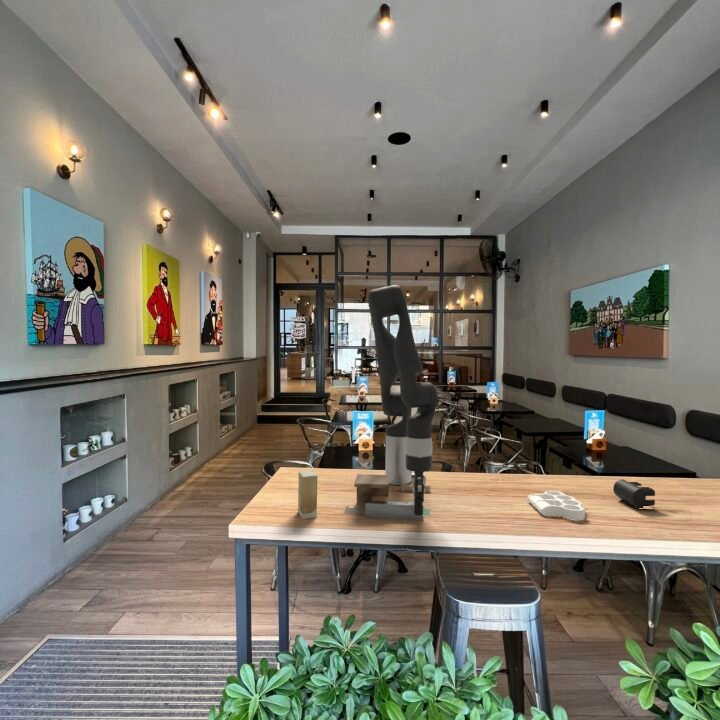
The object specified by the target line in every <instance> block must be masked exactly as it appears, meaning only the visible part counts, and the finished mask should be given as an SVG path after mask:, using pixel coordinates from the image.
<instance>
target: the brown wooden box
mask: <svg viewBox="0 0 720 720" xmlns="http://www.w3.org/2000/svg"><path fill="white" fill-rule="evenodd" d="M353 485H354V486H353V487H354V488H356V505H365V503H366V498H367V495H372V496H381V497H389V498H390V484H389V475H385V474H370V473H369V474H368V473H367V474H365V473H362V474H361V473H360V474H359V473H357V474H356V477H355V481H354V483H353Z"/></svg>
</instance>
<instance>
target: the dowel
mask: <svg viewBox="0 0 720 720" xmlns="http://www.w3.org/2000/svg"><path fill="white" fill-rule="evenodd" d="M431 487H432V486H431V484H430V485H426V484H425V493H432V492H431V491H432V490H431V489H432V488H431ZM400 492H406V493H407V492H408V493H411V492H412V493H413V489H412V484H405V485H400Z"/></svg>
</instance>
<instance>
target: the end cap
mask: <svg viewBox="0 0 720 720" xmlns="http://www.w3.org/2000/svg"><path fill="white" fill-rule="evenodd" d="M613 493H614V494H615V496H616V497H617V498H618V499H619V500H621V499H622V500H621V501H623V500H624V501H623V502H625V503H626V504H628V503H629V504H628V505H630V504H631V505H630V506H632V505H633V506H632V507H634V506H635V508H636V507H637V508H636V509H638V508H643V506H651V507H653V506H655V505H656V501H655V499H646V498H647V497H656V491H655V490H654V489H653V488H651V487H650V486H643V485H642V483H640V482H638V481H628V480H625V479H623V478H620V479H619V480H616V482H614V485H613Z"/></svg>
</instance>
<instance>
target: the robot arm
mask: <svg viewBox="0 0 720 720" xmlns="http://www.w3.org/2000/svg"><path fill="white" fill-rule="evenodd" d="M367 301H368V303H367V304H368V308H369V309H368V310H369V313H370V314H369V315H370V320H371V324H372V328H373V335H374V342H375V354H376V355H375V356H376V363H377V369H378V373H379V381H380V382H379V383H380V393H381V394H380V396H381V407H382V409H381V410H382V412H383V414H384V415H385V416H387V417H398V418H399V417H402V418H401V420H400V421H398V422H397V423H394V424H391V425H388V426H386V428H385V473H384V475H389V485H393V486H401V485H410V483H411V485H412V489H413V492H412V493H413V502H414V503H415V515H420V516H421V515H422V514H423V505H424V502H425V494H426V492H425V485H426V484H427V477H426V474H424V472H430V471H431V470H432V469H433V441H432V437H433V436H432V428H433V425H432V423H433V419H434V416H435V413H436V408H437V405H438V404H437V403H438V398H439V397H438V396H439V393H438V390H437V389H436V386H435V385H434V384H433V383H431V382H428V381H426V382H425V381H424V382H423V381H422V382H417V378H416V377H419V376H420V375H422V373H423V371H424V367H423V363H422V361H421V357H420V355H419V352H418V349H417V346H416V343H415V339H414V334H413V333H414V332H413V330H412V328H413V327H412V323H411V319H410V318H411V317H410V314H409V310H408V305H407V301H406V296H405V294H404V291H403V289H402V288H401V286H400V285H398V284H393V285H386V286H384V287H378V288H374V289H372V290H369V292H368V295H367ZM393 316H398V323H399V324H398V330H397V333H396V337H395V336H394V335H393V334H392V333H391V332H390V331H389V330H388V328H387V327H386V326H385V324H384V322H383V319H384V318H388V317H393ZM398 377H399V390H394V391H393V390H391V389H392V386H393V385H394V383H395V381H396V380H397V378H398ZM415 408H417V409H416V412H415V413H414V414H412V410H413V409H415Z"/></svg>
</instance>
